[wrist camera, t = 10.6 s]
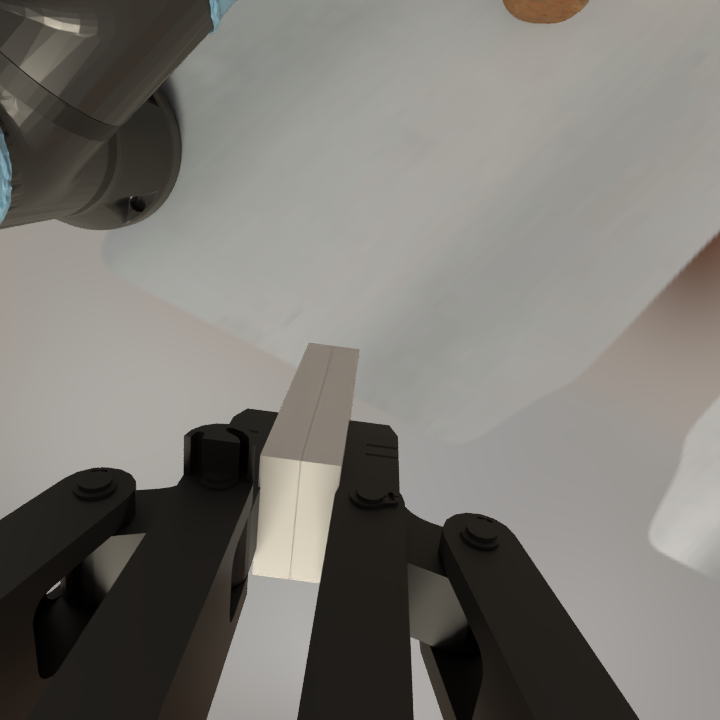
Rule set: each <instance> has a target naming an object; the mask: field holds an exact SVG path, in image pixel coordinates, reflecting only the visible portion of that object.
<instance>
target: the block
mask: <svg viewBox="0 0 720 720" xmlns="http://www.w3.org/2000/svg"><path fill="white" fill-rule="evenodd" d="M588 1H589V0H503V2H504V5H505V7H506V8H507V10H508V11H509V12H510V13H511V14H512V15H513V16H514V17H516V18H518V19H520V20H522V21H525V22H531V23H546V24H550V23H559V22H562V21H565V20H567V19H569V18H571V17H572V16H574V15H575V14H576V13H578V12H580V11H581V10H582V9H583V8H584V7H585V6H586V5H587V3H588Z"/></svg>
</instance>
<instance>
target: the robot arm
mask: <svg viewBox="0 0 720 720" xmlns="http://www.w3.org/2000/svg"><path fill="white" fill-rule="evenodd" d="M235 2H236V0H0V229H4V228H9V227H14V226H20V225H24V224H30V223H35V222H41V221H46V220H51V219H57V220H59V221H61V222H64V223H67V224H69V225H72V226H75V227H79V228H84V229H91V230H111V229H117V228H121V227H125V226H129V225H132V224H135V223H138V222H140V221H142V220H144V219H146V218H147V217H149V216H150V215H152V214H153V213H154V212H155V211H157V210H158V209H159V208H160V207H161V206H162V204H163V203H164V202H165V201H166V199H167V198H168V196H169V195H170V193H171V191H172V189H173V187H174V185H175V182H176V180H177V177H178V173H179V168H180V161H181V140H180V133H179V128H178V124H177V121H176V117H175V115H174V112H173V110H172V107H171V105H170V103H169V101H168V99H167V97H166V96H165V94H164V93H163V91H162V89H161V88H160V87H159V86H160V85H161V84H162V83H163V82H164V81H165V80H166V79H167V78H168V77H169V76H170V75H171V74H172V72H173V71H174V70H175V69H176V68H177V67H178V66H179V65H180V64H181V63H182V62H183V61H184V60H185V58H186V57H187V56H188V55H189V54H190V53H191V52H192V51H193V50H194V49H195V48H196V47H197V46H198V44H199V43H200V42H201V41H202V40H203V39H204V38H205V37H206V36H207V35H208V34H209V33H210V34H213V33H214V32H215V31H217V28H218V26H219V25H220V20H221V18H222V17H223V16H224V15H225V14H226V12H227V11H228V10H229V9H230V8H231V6H232V5H233V4H234V3H235ZM358 357H359V349H353V348H345V347H337V346H330V345H322V344H314V343H309V344H308V346H307V349H306V351H305V353H304V356H303V358H302V360H301V363H300V365H299V367H298V369H297V372H296V374H295V376H294V379H293V381H292V383H291V386H290V388H289V390H288V393H287V395H286V397H285V399H284V402H283V404H282V406H281V409H280V411H279V413H277V412H270V411H262V410H255V409H246V410H244V411H243V412H241V413H239V414H237V415H236V416H234V417H233V419H232V421H231V422H230V424H211V425H204V426H201V427H198V428H195V429H193V430H191V431H190V432H188V433H187V434H186V435H185V436H184V475H183V477H182V478H181V480H180V481H179V483H178V485H177V486H174V487H169V488H161V489H150V490H136V481H135V479H134V478H133V477H132V475H131V474H129V473H127V472H125V471H123V470H120V469H114V468H103V467H101V468H91V469H88V470H84V471H80V472H76V473H75V474H73V475H70V476H68V477H66V478H64V479H63V480H61V481H60V482H58V483H56V484H55V485H53V486H52V487H50V488H49V489H47V490H46V491H44V492H42V493H41V494H39V495H38V496H37V497H35V498H33V499H32V500H30V501H29V502H27V503H26V504H24V505H22V506H21V507H19V508H18V509H16V510H15V511H14V512H12V513H10V514H9V515H7V516H5V517H4V518H2V519H1V520H0V720H206V719H207V716H208V713H209V710H210V707H211V704H212V700H213V697H214V694H215V691H216V688H217V685H218V682H219V679H220V676H221V673H222V669H223V666H224V663H225V660H226V657H227V654H228V651H229V648H230V645H231V641H232V638H233V635H234V632H235V629H236V626H237V623H238V620H239V617H240V614H241V610H242V607H243V604H244V601H245V598H246V595H247V582H248V572H249V569H250V566H251V563H252V560H253V575H261V576H268V577H276V578H284V579H291V580H299V581H306V582H314V583H320V586H319V592H318V598H317V605H316V610H315V616H314V622H313V628H312V634H311V640H310V646H309V652H308V658H307V664H306V670H305V676H304V682H303V688H302V694H301V700H300V706H299V712H298V718H297V720H414V718H413V693H412V670H411V645H410V637H412V638H415V639H417V640H419V641H420V650H421V654H422V657H423V660H424V663H425V666H426V669H427V672H428V675H429V678H430V681H431V684H432V687H433V690H434V693H435V696H436V699H437V702H438V704H439V708H440V711H441V713H442V716H443V719H444V720H639V718H638V717H637V715H636V714H635V712H634V711H633V709H632V708H631V706H630V705H629V703H628V702H627V700H626V699H625V697H624V696H623V695H622V693H621V692H620V690H619V689H618V687H617V686H616V684H615V683H614V681H613V680H612V678H611V677H610V675H609V674H608V672H607V671H606V669H605V668H604V666H603V665H602V663H601V662H600V661H599V659H598V658H597V656H596V655H595V653H594V652H593V650H592V649H591V647H590V646H589V644H588V643H587V641H586V640H585V638H584V637H583V635H582V634H581V632H580V631H579V629H578V628H577V626H576V625H575V623H574V622H573V621H572V619H571V618H570V616H569V615H568V613H567V612H566V610H565V609H564V607H563V606H562V604H561V603H560V601H559V600H558V598H557V597H556V595H555V594H554V592H553V591H552V589H551V588H550V586H549V585H548V584H547V582H546V581H545V579H544V578H543V576H542V575H541V573H540V572H539V570H538V569H537V567H536V566H535V564H534V563H533V561H532V560H531V558H530V557H529V556H528V554H527V553H526V551H525V549H524V548H523V546H522V545H521V544H520V542H519V541H518V539H517V538H516V536H515V535H514V534H513V533H512V532H511V531H510V530H509V529H508V528H507V526H505V525H503V524H502V523H500V522H498V521H497V520H495V519H493V518H490V517H488V516H484V515H481V514H472V513H463V514H456V515H454V516H452V517H450V518H449V519H447V520H446V522H445V524H444V526H443V527H441V526H439V525H436V524H433V523H430V522H428V521H425V520H423V519H421V518H419V517H417V516H416V515H414V514H413V513H411V512H410V511H409V510H408V509H407V508H406V507H405V503H404V500H403V497H402V495H401V494H400V493H399V461H398V436H397V435H396V434H395V432H394V431H393V430H392V429H391V427H390V426H389V425H382V424H373V423H366V422H358V421H351V412H352V405H353V397H354V389H355V381H356V373H357V365H358ZM253 557H254V559H253ZM59 581H60V582H61V584H60V585H59V586H58V587H56V588H55V589H54V590H53V591H52V592H50V593H48V594H46V593H47V592H48V591H49V590H50V589H51V588H52V587H53V586H54V585H55V584H56V583H58V582H59Z"/></svg>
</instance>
